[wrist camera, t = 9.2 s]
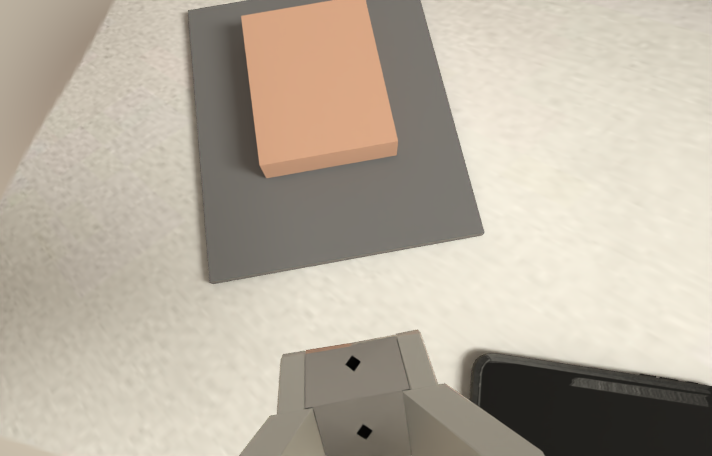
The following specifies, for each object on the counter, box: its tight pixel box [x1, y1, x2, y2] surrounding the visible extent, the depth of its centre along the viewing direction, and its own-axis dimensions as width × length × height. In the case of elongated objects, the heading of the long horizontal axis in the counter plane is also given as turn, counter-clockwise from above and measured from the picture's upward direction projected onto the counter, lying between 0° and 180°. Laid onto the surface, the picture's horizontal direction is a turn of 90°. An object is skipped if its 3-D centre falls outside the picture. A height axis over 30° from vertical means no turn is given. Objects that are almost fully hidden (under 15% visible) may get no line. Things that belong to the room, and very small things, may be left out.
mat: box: [188, 0, 484, 284], centre depth 34 cm, size 22×18×1 cm
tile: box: [241, 0, 398, 178], centre depth 33 cm, size 2×9×12 cm
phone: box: [470, 353, 712, 456], centre depth 27 cm, size 8×1×15 cm
